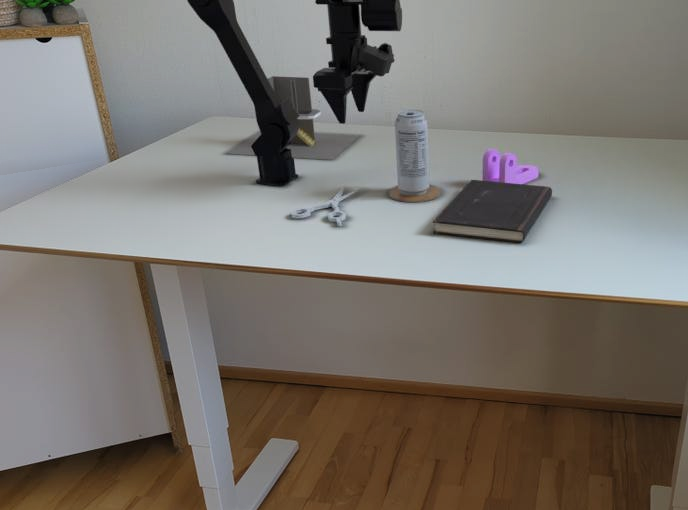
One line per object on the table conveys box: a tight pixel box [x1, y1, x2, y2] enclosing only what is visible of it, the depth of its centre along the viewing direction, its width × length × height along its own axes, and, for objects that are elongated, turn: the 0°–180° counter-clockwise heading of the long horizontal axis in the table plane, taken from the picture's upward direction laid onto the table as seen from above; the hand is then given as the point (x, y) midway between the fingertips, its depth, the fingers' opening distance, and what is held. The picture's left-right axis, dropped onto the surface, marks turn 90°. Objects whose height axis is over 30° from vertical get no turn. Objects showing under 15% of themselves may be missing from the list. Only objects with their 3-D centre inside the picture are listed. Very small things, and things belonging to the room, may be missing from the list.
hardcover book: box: [432, 179, 553, 244], centre depth 143 cm, size 16×23×2 cm
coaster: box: [388, 184, 441, 203], centre depth 154 cm, size 10×10×1 cm
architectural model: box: [225, 75, 360, 161], centre depth 180 cm, size 20×25×15 cm
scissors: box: [290, 184, 364, 227], centre depth 149 cm, size 11×1×20 cm
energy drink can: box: [394, 109, 430, 196], centre depth 150 cm, size 6×6×15 cm
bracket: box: [482, 148, 539, 185], centre depth 159 cm, size 13×6×7 cm, turn 140°
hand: (352, 117), depth 153 cm, fingers open, 9 cm apart
